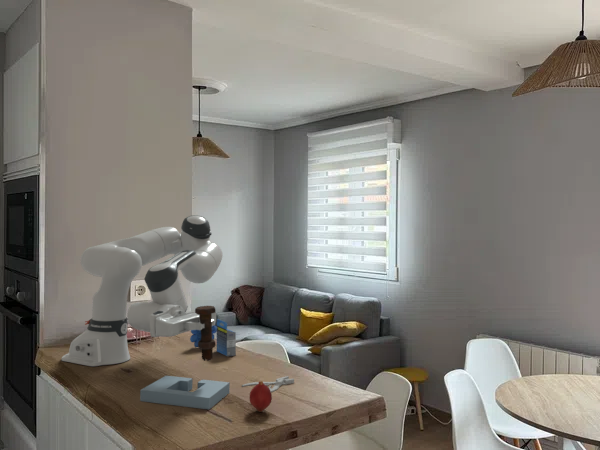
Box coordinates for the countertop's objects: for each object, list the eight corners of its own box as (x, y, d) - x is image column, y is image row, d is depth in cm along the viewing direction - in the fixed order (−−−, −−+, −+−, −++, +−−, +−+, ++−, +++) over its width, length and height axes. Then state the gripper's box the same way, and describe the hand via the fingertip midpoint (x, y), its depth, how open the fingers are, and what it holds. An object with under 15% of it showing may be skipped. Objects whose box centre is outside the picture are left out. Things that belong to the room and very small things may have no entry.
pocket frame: (140, 401, 145) (140, 389, 145) (165, 385, 159) (166, 375, 159) (209, 409, 140) (209, 398, 140) (229, 392, 154) (229, 382, 154)
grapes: (210, 343, 213) (211, 312, 213) (220, 346, 208) (220, 315, 208) (184, 347, 205) (185, 315, 205) (193, 350, 200) (194, 318, 200)
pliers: (241, 381, 160) (281, 373, 170) (241, 387, 160) (281, 378, 170) (260, 390, 153) (301, 381, 162) (260, 396, 153) (301, 386, 162)
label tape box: (236, 355, 195) (237, 321, 195) (226, 356, 193) (226, 322, 193) (225, 350, 203) (226, 317, 202) (215, 351, 200) (216, 318, 200)
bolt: (219, 357, 155) (217, 305, 155) (215, 362, 150) (213, 308, 150) (199, 357, 156) (197, 305, 155) (195, 362, 151) (192, 309, 150)
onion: (249, 407, 142) (249, 377, 142) (271, 407, 143) (271, 377, 143) (249, 415, 137) (249, 384, 136) (271, 415, 137) (272, 384, 137)
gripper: (195, 323, 168) (230, 328, 161) (146, 338, 150) (184, 344, 144) (194, 303, 168) (230, 307, 161) (145, 315, 150) (183, 320, 143)
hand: (208, 324), depth 152 cm, fingers closed on bolt, 3 cm apart
